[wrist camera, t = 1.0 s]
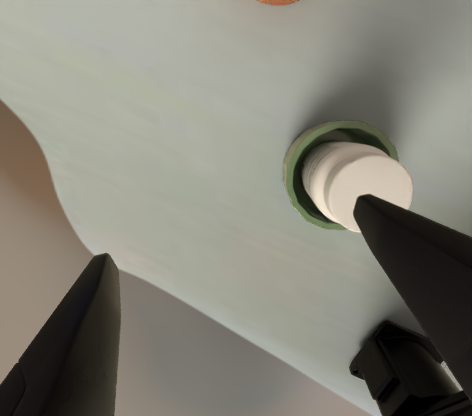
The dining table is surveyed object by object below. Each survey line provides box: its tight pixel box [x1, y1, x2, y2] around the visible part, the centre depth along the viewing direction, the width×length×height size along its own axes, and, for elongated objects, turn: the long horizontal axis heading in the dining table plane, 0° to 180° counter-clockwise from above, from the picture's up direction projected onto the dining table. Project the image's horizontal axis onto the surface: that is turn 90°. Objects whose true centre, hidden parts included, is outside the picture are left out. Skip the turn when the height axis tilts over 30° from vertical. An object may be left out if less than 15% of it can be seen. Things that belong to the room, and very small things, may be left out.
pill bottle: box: [300, 141, 413, 233], centre depth 17 cm, size 5×5×8 cm
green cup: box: [283, 121, 399, 230], centre depth 20 cm, size 7×7×4 cm
